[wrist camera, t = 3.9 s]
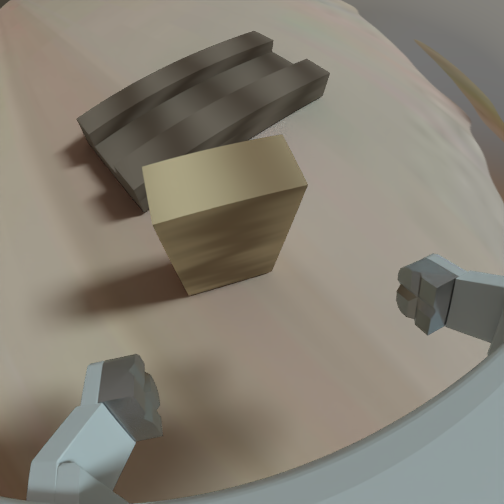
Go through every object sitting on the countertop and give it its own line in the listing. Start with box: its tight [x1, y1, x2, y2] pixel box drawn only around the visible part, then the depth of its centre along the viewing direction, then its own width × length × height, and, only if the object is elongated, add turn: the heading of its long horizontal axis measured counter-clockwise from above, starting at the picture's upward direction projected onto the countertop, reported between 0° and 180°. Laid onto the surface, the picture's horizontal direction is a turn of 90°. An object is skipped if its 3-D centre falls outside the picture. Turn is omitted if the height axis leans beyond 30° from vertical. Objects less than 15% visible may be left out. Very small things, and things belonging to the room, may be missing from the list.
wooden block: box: [142, 135, 308, 296], centre depth 15 cm, size 6×3×10 cm, turn 109°
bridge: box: [77, 31, 330, 213], centre depth 23 cm, size 20×10×3 cm, turn 134°
